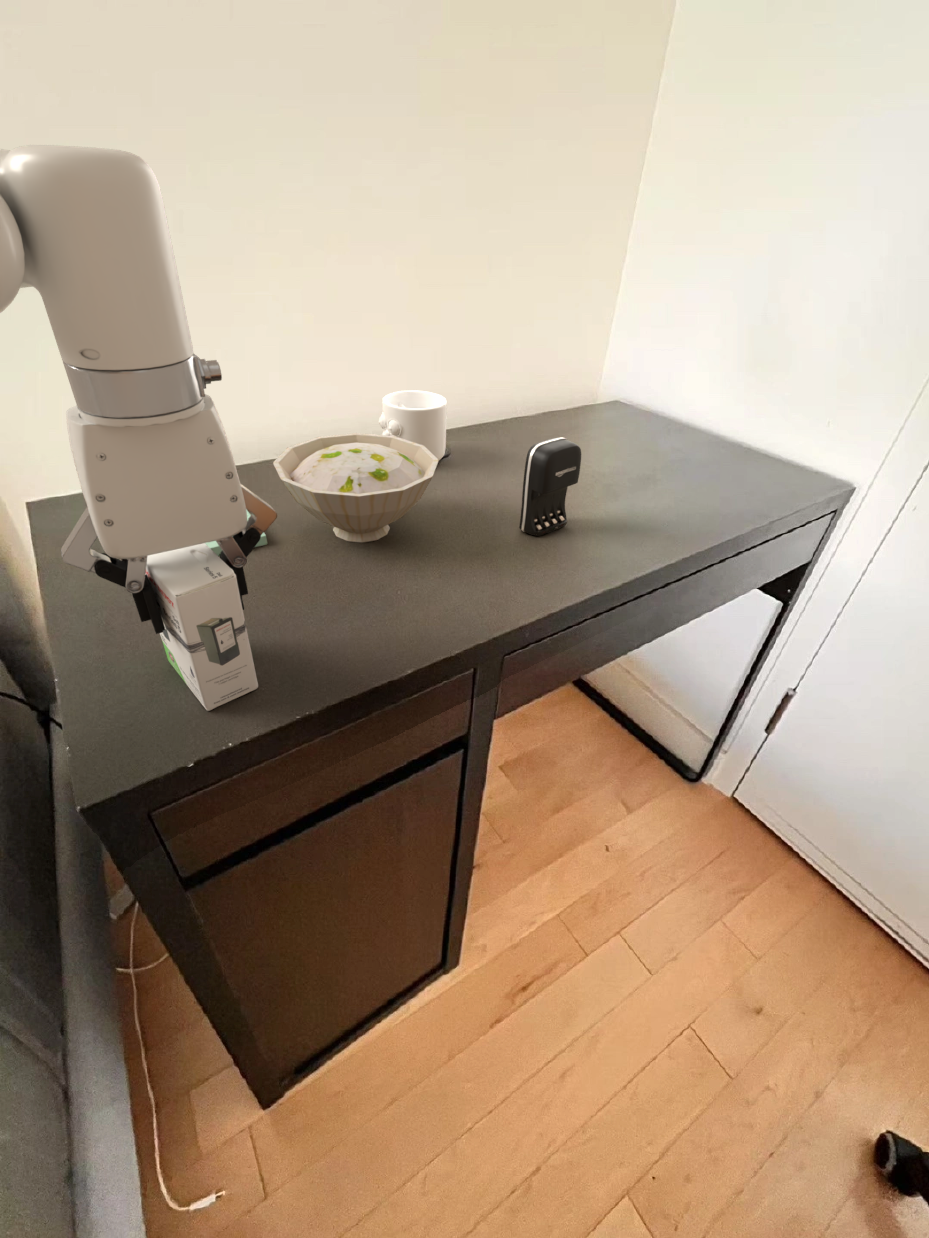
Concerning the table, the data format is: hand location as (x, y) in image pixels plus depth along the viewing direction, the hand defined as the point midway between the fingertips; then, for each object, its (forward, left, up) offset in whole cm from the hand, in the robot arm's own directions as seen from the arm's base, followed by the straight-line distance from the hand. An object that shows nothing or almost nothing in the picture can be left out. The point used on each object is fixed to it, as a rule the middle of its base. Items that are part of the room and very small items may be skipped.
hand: (196, 611), depth 50 cm
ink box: (0, 0, -7) cm, 7 cm away
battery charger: (+44, +8, -7) cm, 45 cm away
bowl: (+23, +19, -7) cm, 31 cm away
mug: (+40, +38, -7) cm, 56 cm away
